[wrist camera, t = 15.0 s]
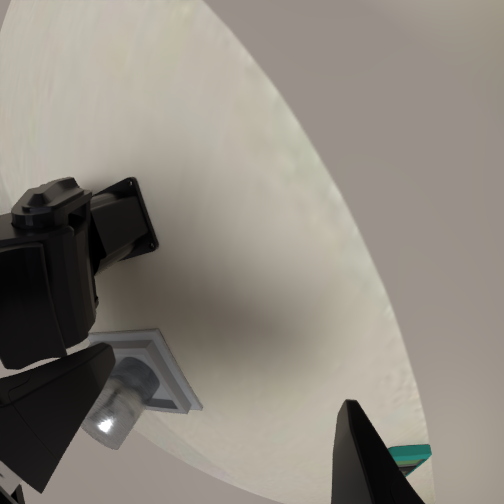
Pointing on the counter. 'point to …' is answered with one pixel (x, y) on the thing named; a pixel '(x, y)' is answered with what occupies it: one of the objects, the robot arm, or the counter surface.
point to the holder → (153, 367)
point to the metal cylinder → (121, 402)
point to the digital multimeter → (410, 457)
